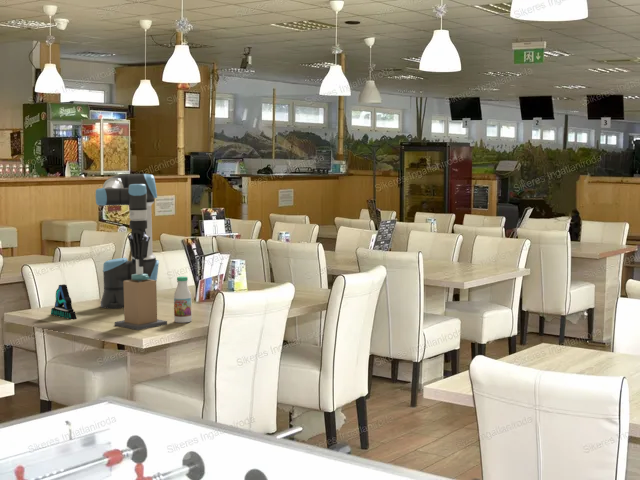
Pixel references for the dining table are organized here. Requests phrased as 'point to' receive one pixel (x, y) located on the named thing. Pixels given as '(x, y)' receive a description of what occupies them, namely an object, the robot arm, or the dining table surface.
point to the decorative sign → (61, 300)
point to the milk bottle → (182, 302)
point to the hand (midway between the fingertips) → (139, 274)
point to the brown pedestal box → (140, 305)
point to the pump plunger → (140, 277)
